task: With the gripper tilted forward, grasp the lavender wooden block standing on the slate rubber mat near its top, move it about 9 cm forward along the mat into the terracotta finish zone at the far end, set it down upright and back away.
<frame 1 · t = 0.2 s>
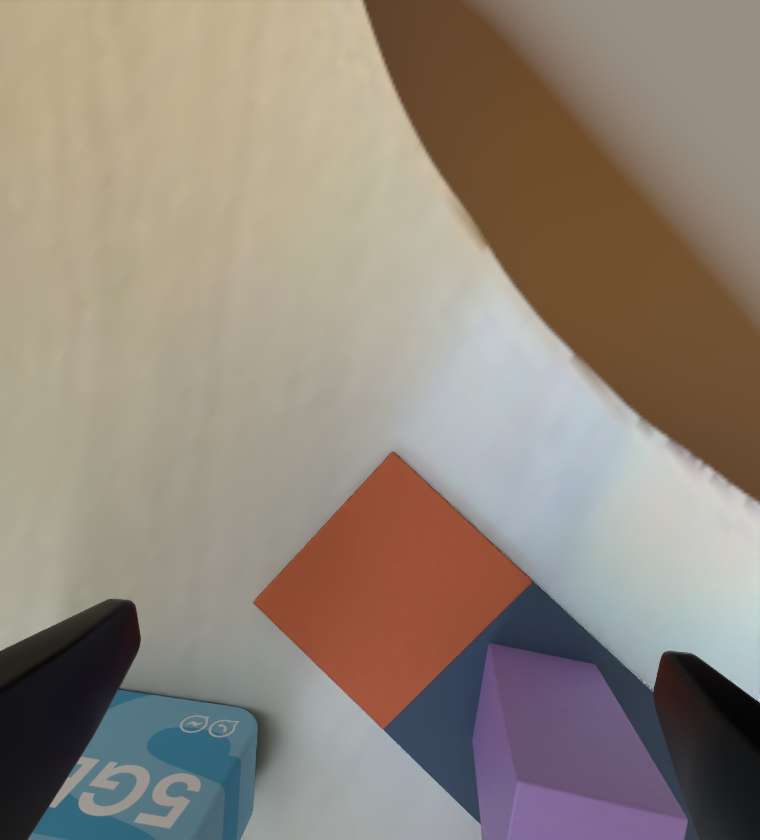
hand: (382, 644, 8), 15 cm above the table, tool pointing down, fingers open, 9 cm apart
mat: (517, 712, 24), on the table
data package: (158, 731, 26), on the table
block: (532, 702, 23), resting on mat
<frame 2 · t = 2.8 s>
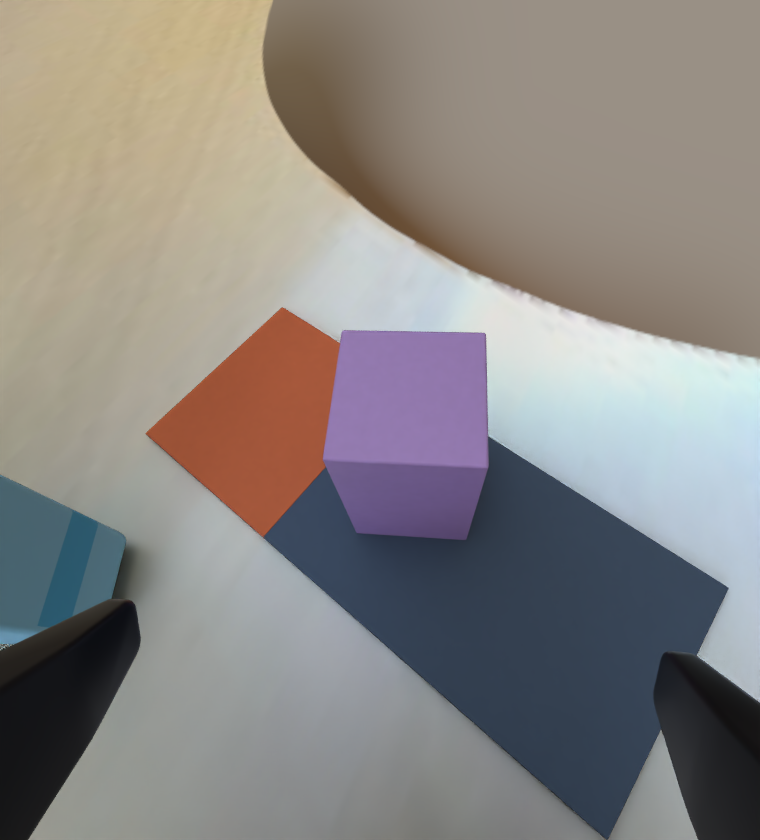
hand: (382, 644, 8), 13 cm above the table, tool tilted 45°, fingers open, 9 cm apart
mat: (400, 502, 23), on the table
data package: (9, 591, 23), on the table
block: (413, 484, 23), resting on mat
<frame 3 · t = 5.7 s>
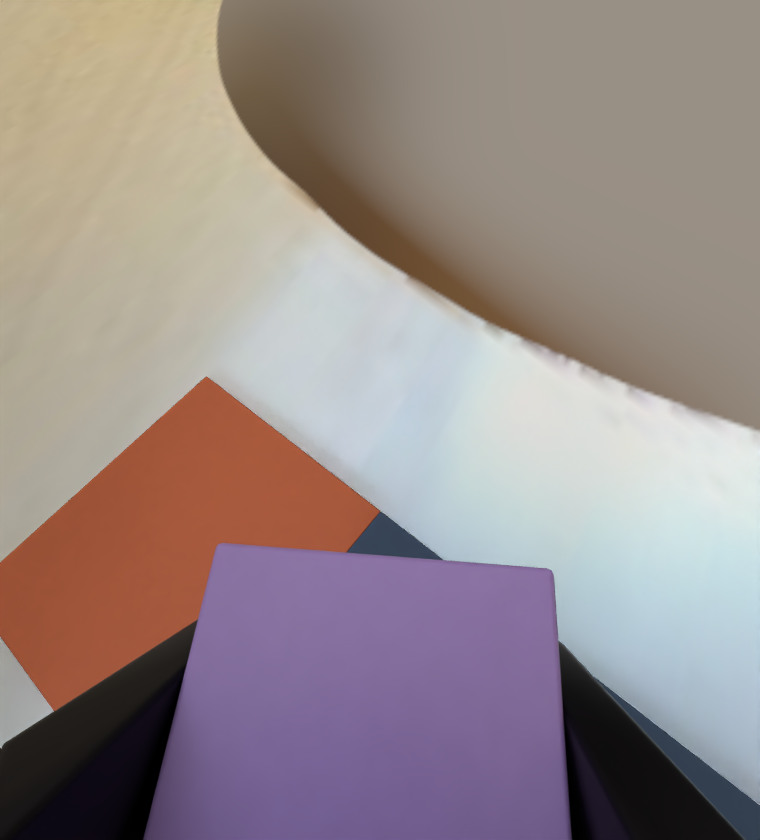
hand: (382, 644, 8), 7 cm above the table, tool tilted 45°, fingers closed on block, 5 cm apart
mat: (372, 747, 13), on the table
block: (394, 715, 13), resting on mat, touching gripper
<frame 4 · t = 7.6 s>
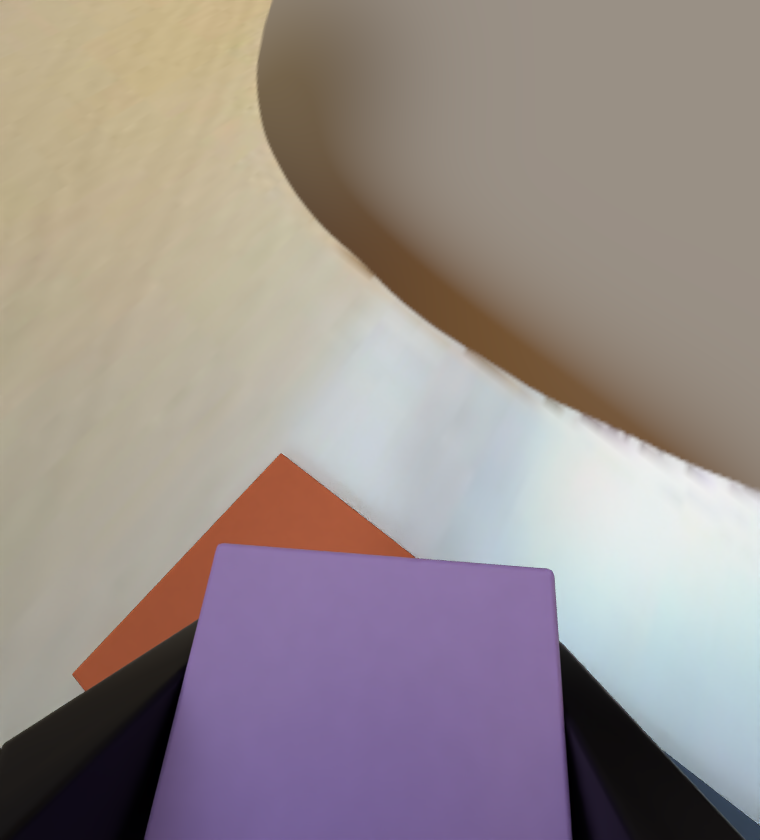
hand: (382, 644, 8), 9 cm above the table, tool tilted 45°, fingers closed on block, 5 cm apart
mat: (471, 830, 14), on the table
block: (394, 715, 13), point 3 cm above the table, touching gripper
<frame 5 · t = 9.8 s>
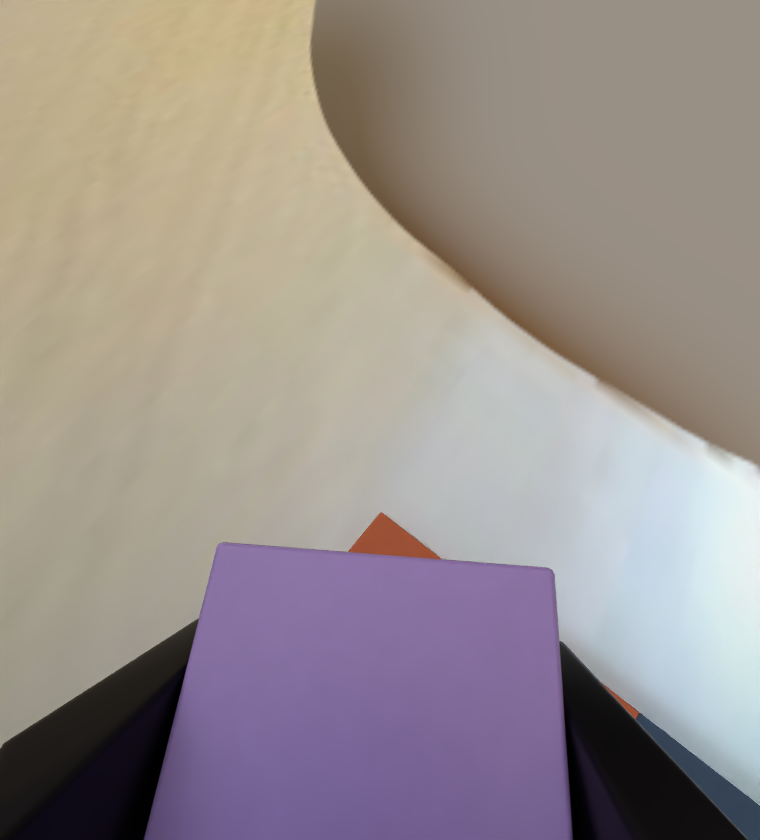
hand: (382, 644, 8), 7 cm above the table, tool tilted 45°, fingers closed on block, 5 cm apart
block: (394, 716, 13), resting on mat, touching gripper
when the fingers open (7 cm above the table, at t = 9.9 s): block stays where it is, resting on mat.
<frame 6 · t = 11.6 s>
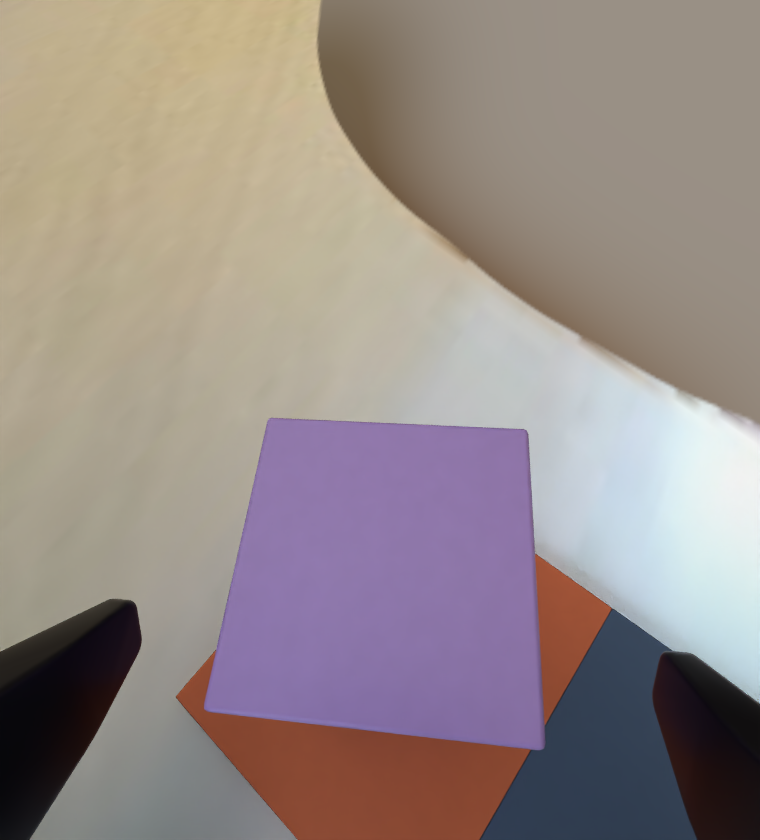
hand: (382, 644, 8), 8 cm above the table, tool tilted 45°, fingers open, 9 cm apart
block: (401, 614, 16), resting on mat
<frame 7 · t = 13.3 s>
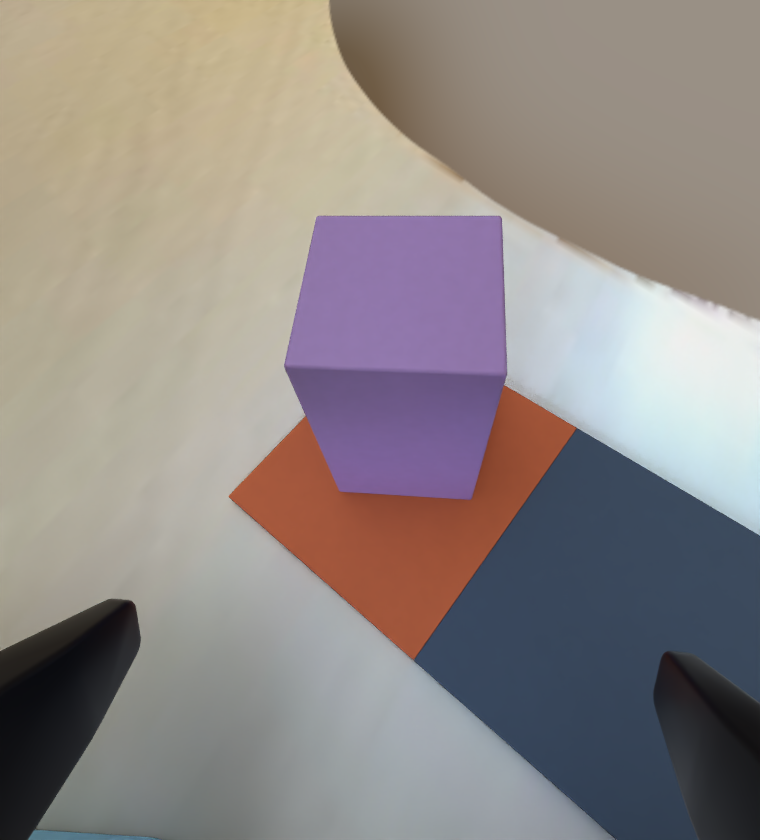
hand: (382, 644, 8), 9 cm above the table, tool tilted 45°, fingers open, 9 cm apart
mat: (605, 608, 16), on the table
block: (408, 436, 19), resting on mat
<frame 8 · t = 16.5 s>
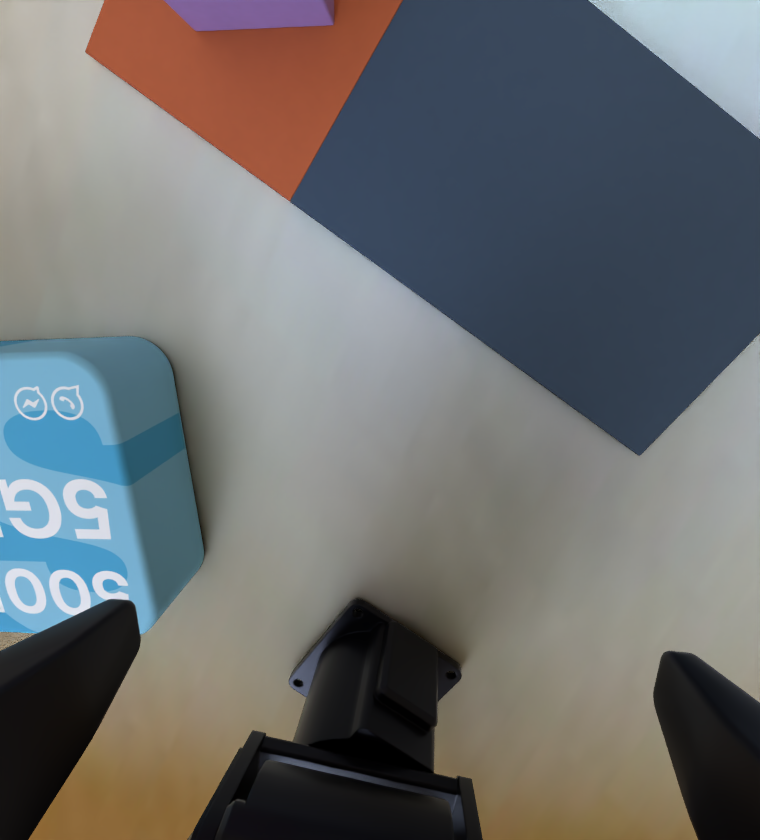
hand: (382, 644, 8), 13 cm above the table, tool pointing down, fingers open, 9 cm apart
mat: (460, 137, 17), on the table
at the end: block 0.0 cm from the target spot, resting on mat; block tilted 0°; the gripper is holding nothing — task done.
